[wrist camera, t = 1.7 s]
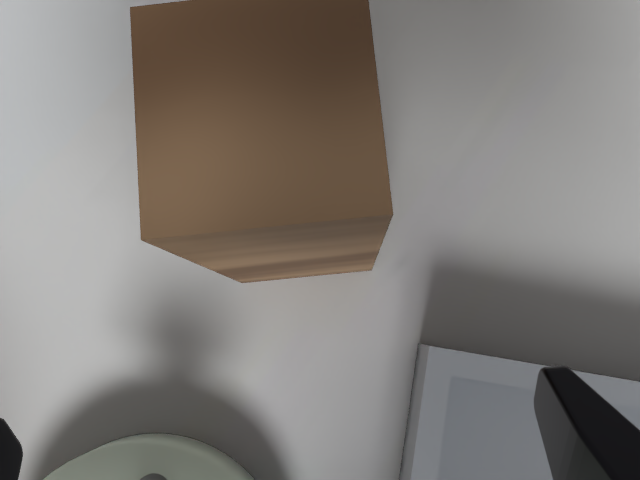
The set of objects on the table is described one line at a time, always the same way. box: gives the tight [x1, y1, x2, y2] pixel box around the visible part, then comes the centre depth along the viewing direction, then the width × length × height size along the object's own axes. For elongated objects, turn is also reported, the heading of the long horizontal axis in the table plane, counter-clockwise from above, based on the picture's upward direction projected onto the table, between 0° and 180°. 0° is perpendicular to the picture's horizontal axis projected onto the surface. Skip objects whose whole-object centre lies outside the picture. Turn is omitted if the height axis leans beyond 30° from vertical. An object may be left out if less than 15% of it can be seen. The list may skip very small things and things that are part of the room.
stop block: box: [130, 0, 393, 283], centre depth 17 cm, size 5×5×11 cm
